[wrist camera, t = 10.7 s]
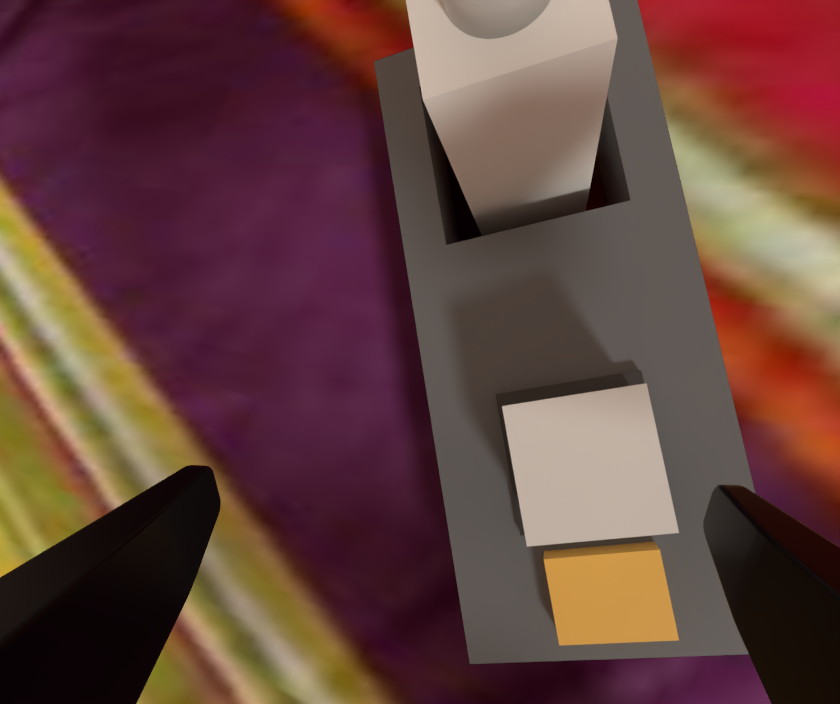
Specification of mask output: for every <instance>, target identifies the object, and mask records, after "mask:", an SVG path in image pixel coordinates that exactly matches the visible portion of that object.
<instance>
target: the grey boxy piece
mask: <svg viewBox="0 0 840 704" xmlns="http://www.w3.org/2000/svg"><path fill="white" fill-rule="evenodd" d="M609 3H610V7H611V12H612V16H613V20H614V25H615V29H616V33H617V38H618V39H617V44H616V50H615V55H614V61H613V66H612V71H611V77H610V82H609V88H608V93H607V98H606V104H605V109H604V115H603V120H602V126H601V131H600V136H599V142H598V147H597V153H596V154H597V159H598V163H599V168H600V173H601V177H602V182H603V186H604V191H605V196H606V200H607V205H608V206H605V207H601V208H597V209H593V210H589V211H584V212H580V213H576V214H572V215H568V216H564V217H560V218H555V219H551V220H547V221H543V222H539V223H535V224H531V225H527V226H522V227H518V228H514V229H510V230H506V231H502V232H498V233H494V234H489V235H485V236H481V237H477V238H473V239H469V240H465V241H460V238H459V233H458V227H457V221H456V216H455V210H454V204H453V198H452V193H451V187H450V181H449V175H448V170H447V164H446V158H445V153H444V148H443V145H442V143H441V141H440V138H439V136H438V134H437V131H436V129H435V127H434V124H433V122H432V120H431V118H430V115H429V113H428V111H427V108H426V106H425V104H424V101H423V98H422V92H421V86H420V80H419V75H418V69H417V63H416V57H415V51H414V48H411V49H408V50H405V51H402V52H399V53H397V54H394V55H391V56H388V57H385V58H382V59H379V60H376V61H374V66H375V72H376V78H377V84H378V91H379V97H380V103H381V110H382V116H383V122H384V128H385V135H386V141H387V147H388V154H389V160H390V166H391V172H392V179H393V185H394V191H395V197H396V204H397V210H398V216H399V223H400V229H401V235H402V241H403V248H404V254H405V260H406V267H407V273H408V279H409V285H410V292H411V298H412V304H413V311H414V317H415V323H416V329H417V336H418V342H419V348H420V355H421V361H422V367H423V373H424V380H425V386H426V392H427V399H428V405H429V411H430V417H431V424H432V430H433V436H434V443H435V449H436V455H437V461H438V468H439V474H440V480H441V487H442V493H443V499H444V505H445V512H446V518H447V524H448V530H449V537H450V543H451V549H452V556H453V562H454V568H455V574H456V581H457V587H458V593H459V600H460V606H461V612H462V618H463V625H464V631H465V637H466V644H467V650H468V656H469V662H470V664H487V663H515V662H543V661H571V660H599V659H628V658H656V657H684V656H712V655H740V654H749V653H748V651H747V649H746V647H745V644H744V642H743V640H742V638H741V636H740V633H739V631H738V629H737V626H736V624H735V622H734V619H733V617H732V614H731V611H730V609H729V606H728V603H727V600H726V597H725V594H724V591H723V588H722V585H721V582H720V579H719V576H718V573H717V570H716V567H715V564H714V561H713V559H712V556H711V553H710V550H709V547H708V544H707V541H706V538H705V535H704V530H703V519H704V516H705V512H706V509H707V506H708V503H709V500H710V497H711V494H712V491H713V489H714V488H715V486H717V485H740V486H744V487H746V488H747V489H749V490H751V491H752V492H754V493H755V490H754V486H753V482H752V478H751V474H750V470H749V465H748V461H747V457H746V453H745V449H744V444H743V440H742V436H741V432H740V428H739V424H738V419H737V415H736V411H735V407H734V403H733V398H732V394H731V390H730V386H729V382H728V378H727V373H726V369H725V365H724V361H723V357H722V352H721V348H720V344H719V340H718V336H717V332H716V327H715V323H714V319H713V315H712V311H711V306H710V302H709V298H708V294H707V290H706V286H705V281H704V277H703V273H702V269H701V265H700V260H699V256H698V252H697V248H696V244H695V240H694V235H693V231H692V227H691V223H690V219H689V215H688V210H687V206H686V202H685V198H684V194H683V189H682V185H681V181H680V177H679V173H678V169H677V164H676V160H675V156H674V152H673V148H672V143H671V139H670V135H669V131H668V127H667V123H666V118H665V114H664V110H663V106H662V102H661V97H660V93H659V89H658V85H657V81H656V77H655V72H654V68H653V64H652V60H651V56H650V51H649V47H648V43H647V39H646V35H645V31H644V26H643V22H642V18H641V14H640V10H639V5H638V1H637V0H609Z"/></svg>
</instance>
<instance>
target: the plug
mask: <svg viewBox="0 0 840 704" xmlns="http://www.w3.org/2000/svg"><path fill="white" fill-rule="evenodd" d="M406 4H407V10H408V16H409V22H410V28H411V34H412V40H413V45H414V51H415V57H416V63H417V69H418V75H419V80H420V86H421V92H422V98H423V101H424V104H425V106H426V108H427V111H428V113H429V115H430V118H431V120H432V122H433V124H434V127H435V129H436V131H437V134H438V136H439V138H440V141H441V143H442V145H443V148H444V150H445V152H446V154H447V157H448V159H449V161H450V164H451V166H452V168H453V171H454V173H455V175H456V177H457V180H458V182H459V184H460V187H461V189H462V191H463V194H464V196H465V198H466V201H467V203H468V205H469V207H470V210H471V212H472V214H473V217H474V219H475V221H476V224H477V226H478V228H479V231H480V233H481V235H482V236H485V235H489V234H494V233H498V232H502V231H506V230H510V229H514V228H518V227H522V226H527V225H531V224H535V223H539V222H543V221H547V220H551V219H555V218H560V217H564V216H568V215H572V214H576V213H580V212H584V211H586V207H587V201H588V196H589V191H590V185H591V180H592V174H593V169H594V164H595V158H596V153H597V147H598V142H599V136H600V131H601V126H602V120H603V115H604V109H605V104H606V98H607V93H608V88H609V82H610V77H611V71H612V66H613V61H614V55H615V50H616V44H617V39H618V38H617V33H616V29H615V25H614V20H613V16H612V12H611V7H610V3H609V0H406Z"/></svg>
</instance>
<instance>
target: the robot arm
mask: <svg viewBox="0 0 840 704" xmlns="http://www.w3.org/2000/svg"><path fill="white" fill-rule="evenodd" d="M219 511H220V496H219V492H218V488H217V484H216V480H215V477H214V473H213V470H212V469H211V468H210V467H208V466H198V465H190V466H186V467H184V468H182V469H181V470H179V471H177V472H176V473H174V474H172V475H171V476H169V477H167V478H166V479H164V480H162V481H161V482H159V483H157V484H156V485H154V486H152V487H151V488H149V489H147V490H146V491H144V492H142V493H141V494H139V495H137V496H136V497H134V498H132V499H131V500H129V501H127V502H126V503H124V504H122V505H121V506H119V507H117V508H116V509H114V510H112V511H111V512H109V513H107V514H106V515H104V516H102V517H101V518H99V519H97V520H96V521H94V522H92V523H91V524H89V525H87V526H86V527H84V528H82V529H81V530H79V531H77V532H76V533H74V534H72V535H71V536H69V537H67V538H66V539H64V540H62V541H61V542H59V543H57V544H56V545H54V546H52V547H51V548H49V549H47V550H46V551H44V552H42V553H40V554H39V555H37V556H35V557H34V558H32V559H30V560H29V561H27V562H25V563H24V564H22V565H20V566H19V567H17V568H15V569H14V570H12V571H10V572H9V573H7V574H5V575H4V576H2V577H0V704H136V703H137V701H138V699H139V697H140V695H141V693H142V691H143V689H144V687H145V685H146V682H147V680H148V678H149V676H150V674H151V672H152V670H153V668H154V666H155V664H156V662H157V660H158V658H159V656H160V653H161V651H162V649H163V647H164V645H165V643H166V641H167V639H168V637H169V635H170V633H171V631H172V629H173V626H174V624H175V622H176V620H177V618H178V616H179V614H180V612H181V610H182V608H183V606H184V604H185V602H186V599H187V597H188V595H189V593H190V591H191V588H192V586H193V583H194V580H195V578H196V575H197V573H198V570H199V567H200V564H201V561H202V559H203V556H204V553H205V550H206V548H207V545H208V542H209V539H210V537H211V534H212V531H213V528H214V525H215V523H216V520H217V517H218V514H219ZM703 530H704V535H705V538H706V541H707V544H708V547H709V550H710V553H711V556H712V559H713V561H714V564H715V567H716V570H717V573H718V576H719V579H720V582H721V585H722V588H723V591H724V594H725V597H726V600H727V603H728V606H729V609H730V611H731V614H732V617H733V619H734V622H735V624H736V626H737V629H738V631H739V633H740V636H741V638H742V640H743V642H744V644H745V647H746V649H747V651H748V653H749V655H750V658H751V660H752V662H753V664H754V666H755V668H756V671H757V673H758V675H759V677H760V679H761V682H762V684H763V686H764V688H765V690H766V693H767V695H768V697H769V699H770V701H771V703H772V704H840V547H838V546H837V545H835V544H834V543H832V542H831V541H829V540H827V539H826V538H824V537H823V536H821V535H820V534H818V533H816V532H815V531H813V530H812V529H810V528H809V527H807V526H805V525H804V524H802V523H801V522H799V521H798V520H796V519H794V518H793V517H791V516H790V515H788V514H787V513H785V512H783V511H782V510H780V509H779V508H777V507H776V506H774V505H772V504H771V503H769V502H768V501H766V500H765V499H763V498H762V497H760V496H758V495H757V494H755V493H754V492H752V491H751V490H749V489H747V488H746V487H744V486H740V485H717V486H715V488H714V489H713V491H712V494H711V497H710V500H709V503H708V506H707V509H706V512H705V516H704V519H703Z"/></svg>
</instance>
